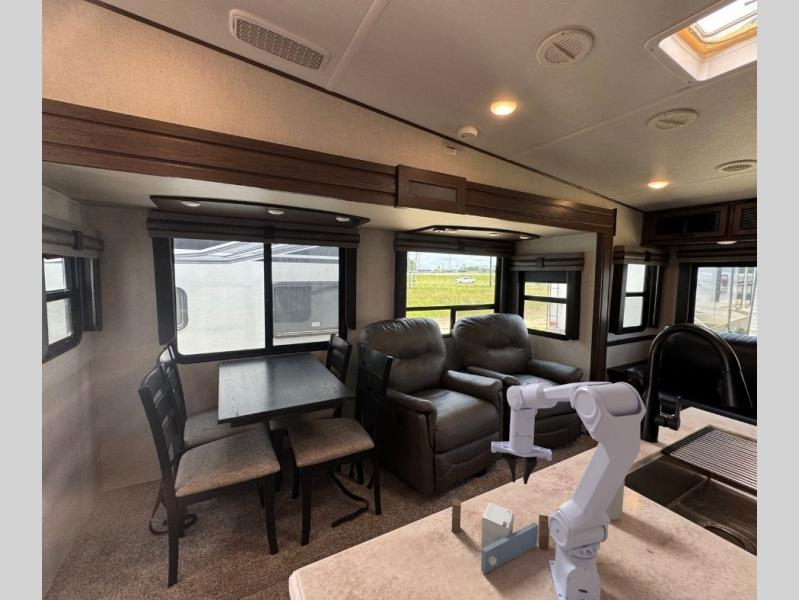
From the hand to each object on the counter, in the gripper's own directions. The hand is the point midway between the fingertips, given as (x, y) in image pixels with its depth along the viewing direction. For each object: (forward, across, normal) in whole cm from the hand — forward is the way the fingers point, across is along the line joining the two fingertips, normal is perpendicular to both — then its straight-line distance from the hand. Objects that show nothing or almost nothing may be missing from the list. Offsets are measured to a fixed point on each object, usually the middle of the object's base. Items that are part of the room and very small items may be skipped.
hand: (519, 480), depth 84 cm
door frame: (+9, +6, +9) cm, 14 cm away
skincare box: (+10, +6, +11) cm, 16 cm away
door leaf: (+9, +3, +15) cm, 18 cm away
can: (+10, -23, -7) cm, 26 cm away
